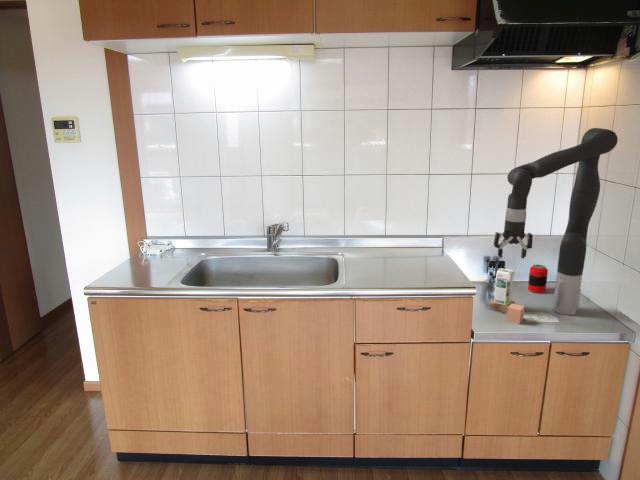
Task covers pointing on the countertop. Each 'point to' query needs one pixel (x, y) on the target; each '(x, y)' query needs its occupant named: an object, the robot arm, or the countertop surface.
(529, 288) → the soda can
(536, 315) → the countertop surface
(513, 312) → the terracotta block
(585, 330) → the countertop surface
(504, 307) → the walnut slab
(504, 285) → the syrup box
